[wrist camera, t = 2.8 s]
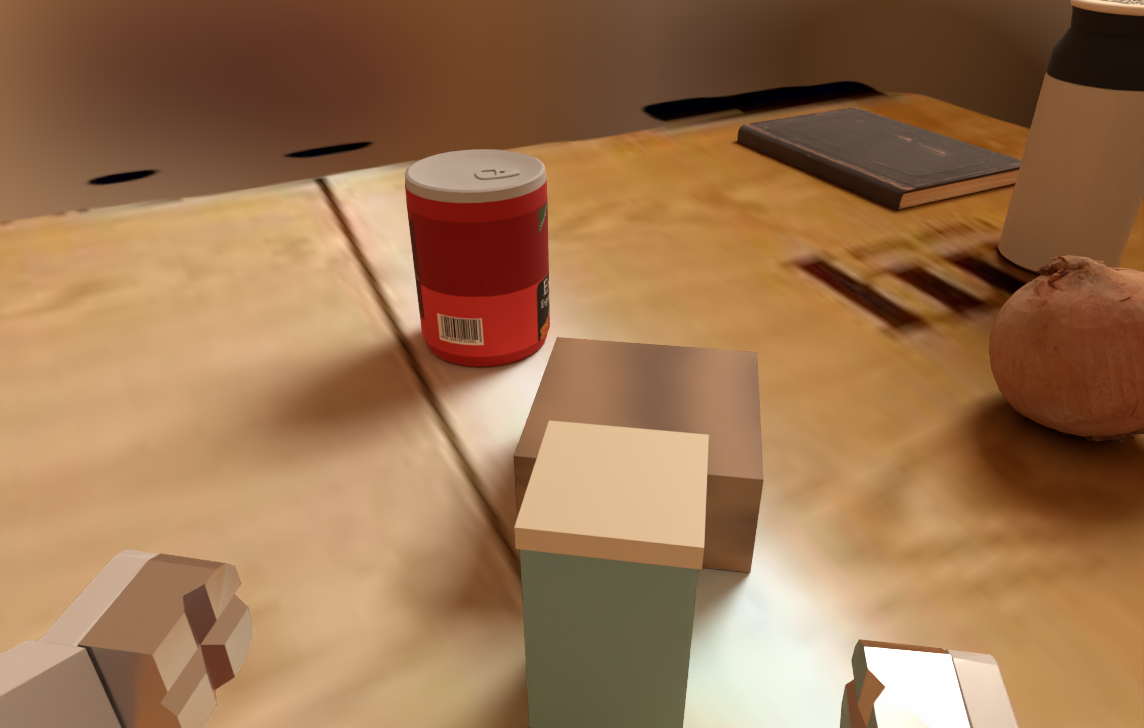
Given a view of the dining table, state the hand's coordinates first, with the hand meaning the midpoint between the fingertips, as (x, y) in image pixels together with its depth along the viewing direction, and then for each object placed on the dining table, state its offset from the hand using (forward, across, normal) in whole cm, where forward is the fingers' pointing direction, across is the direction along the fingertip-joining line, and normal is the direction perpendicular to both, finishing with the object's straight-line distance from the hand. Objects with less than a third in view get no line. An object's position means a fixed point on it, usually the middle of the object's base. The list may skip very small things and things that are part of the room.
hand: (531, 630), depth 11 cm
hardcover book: (+78, +18, -18) cm, 82 cm away
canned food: (+37, -11, -18) cm, 43 cm away
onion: (+33, +22, -18) cm, 44 cm away
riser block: (+24, 0, -17) cm, 30 cm away
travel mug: (+55, +28, -18) cm, 64 cm away
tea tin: (+12, 0, -17) cm, 21 cm away
